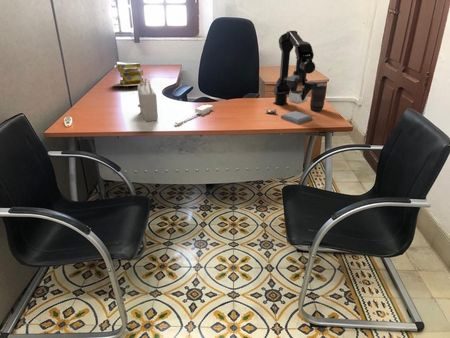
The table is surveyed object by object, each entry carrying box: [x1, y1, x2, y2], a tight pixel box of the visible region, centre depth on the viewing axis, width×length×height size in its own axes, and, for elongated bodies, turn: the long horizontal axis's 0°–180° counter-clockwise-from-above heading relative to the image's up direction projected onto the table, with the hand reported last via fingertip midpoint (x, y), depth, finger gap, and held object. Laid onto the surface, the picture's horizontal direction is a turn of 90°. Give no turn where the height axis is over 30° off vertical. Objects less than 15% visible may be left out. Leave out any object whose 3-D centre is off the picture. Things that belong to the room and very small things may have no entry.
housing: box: [288, 89, 309, 105], centre depth 185 cm, size 6×8×5 cm
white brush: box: [173, 104, 214, 127], centre depth 192 cm, size 5×32×3 cm, turn 148°
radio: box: [137, 68, 159, 122], centre depth 187 cm, size 22×8×25 cm, turn 21°
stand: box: [280, 110, 313, 125], centre depth 190 cm, size 12×12×2 cm
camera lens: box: [309, 82, 327, 112], centre depth 201 cm, size 8×8×15 cm
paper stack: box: [112, 61, 148, 89], centre depth 246 cm, size 25×25×17 cm
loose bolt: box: [265, 108, 277, 115], centre depth 197 cm, size 5×3×3 cm, turn 74°
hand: (298, 99), depth 186 cm, fingers closed on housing, 6 cm apart
